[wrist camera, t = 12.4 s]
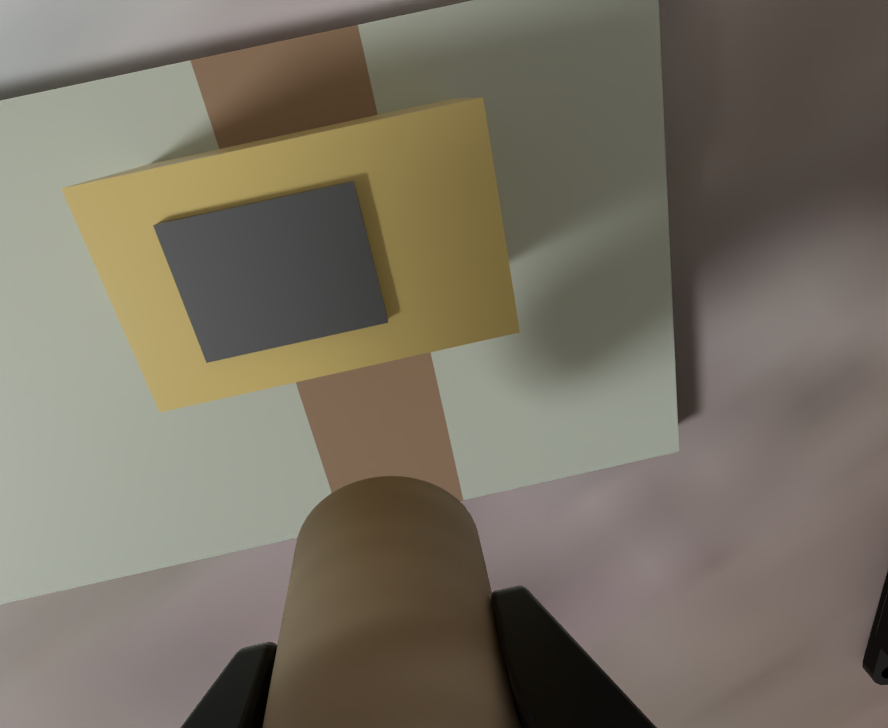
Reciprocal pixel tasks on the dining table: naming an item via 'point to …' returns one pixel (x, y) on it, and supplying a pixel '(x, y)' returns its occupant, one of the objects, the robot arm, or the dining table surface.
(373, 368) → the board
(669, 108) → the dining table surface
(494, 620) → the awl
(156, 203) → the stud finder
